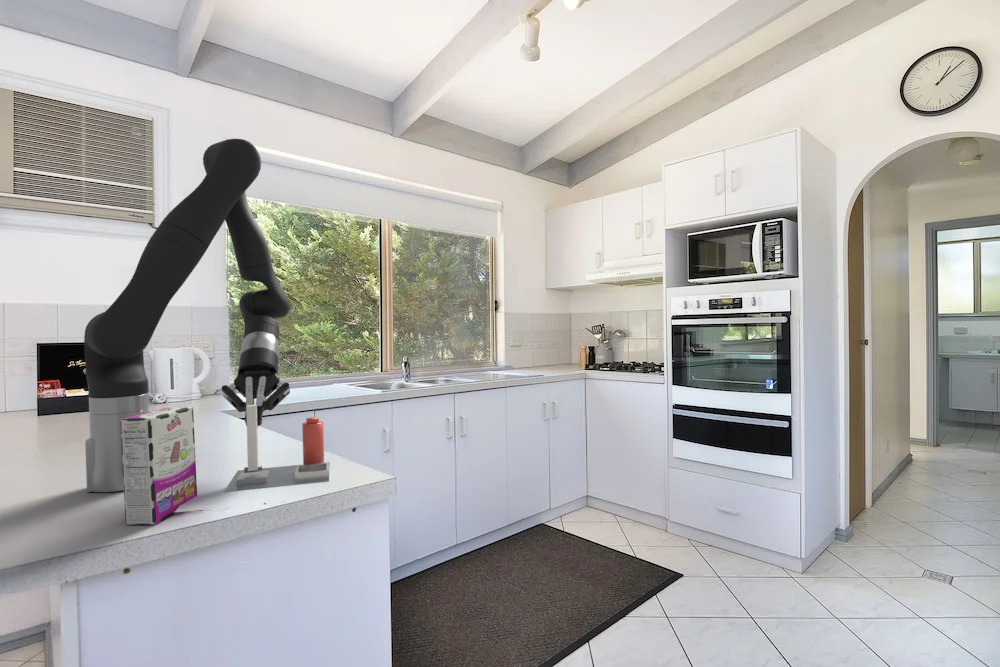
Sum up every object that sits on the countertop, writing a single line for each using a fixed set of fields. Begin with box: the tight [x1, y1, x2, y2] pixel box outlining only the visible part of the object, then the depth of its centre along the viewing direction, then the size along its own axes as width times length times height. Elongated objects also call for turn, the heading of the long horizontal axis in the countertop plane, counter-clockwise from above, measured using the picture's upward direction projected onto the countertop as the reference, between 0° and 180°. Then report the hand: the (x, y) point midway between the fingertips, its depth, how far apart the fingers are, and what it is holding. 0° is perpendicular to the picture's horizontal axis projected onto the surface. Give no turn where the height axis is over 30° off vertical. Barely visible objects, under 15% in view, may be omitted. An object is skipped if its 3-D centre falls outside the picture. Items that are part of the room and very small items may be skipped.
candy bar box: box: [120, 405, 198, 526], centre depth 85 cm, size 11×5×16 cm, turn 179°
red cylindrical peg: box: [301, 416, 325, 465], centre depth 108 cm, size 4×4×10 cm
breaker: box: [243, 404, 263, 473], centre depth 99 cm, size 3×2×12 cm, turn 108°
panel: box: [223, 461, 330, 493], centre depth 102 cm, size 18×14×2 cm
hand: (253, 426), depth 101 cm, fingers closed
